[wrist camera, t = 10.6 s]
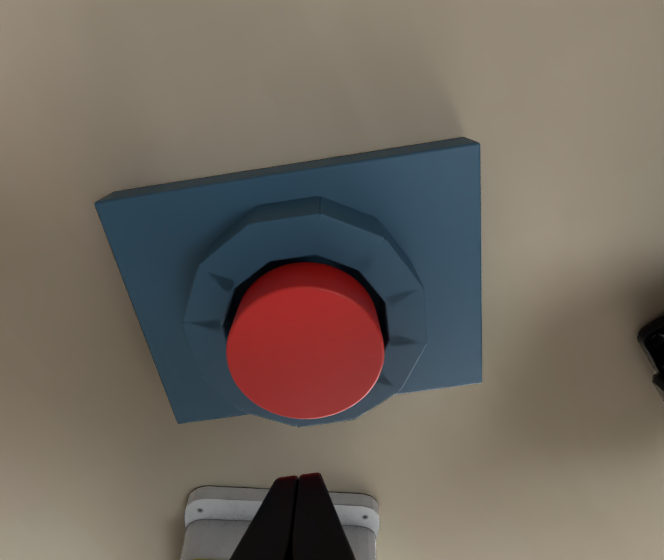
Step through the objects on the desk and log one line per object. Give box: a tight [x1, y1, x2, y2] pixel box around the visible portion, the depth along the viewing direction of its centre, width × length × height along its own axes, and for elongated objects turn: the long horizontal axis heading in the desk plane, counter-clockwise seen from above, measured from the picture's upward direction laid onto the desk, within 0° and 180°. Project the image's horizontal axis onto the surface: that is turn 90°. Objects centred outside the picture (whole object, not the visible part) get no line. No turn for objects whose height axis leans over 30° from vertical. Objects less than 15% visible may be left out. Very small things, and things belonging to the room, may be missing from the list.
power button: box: [226, 262, 385, 419], centre depth 13 cm, size 4×4×2 cm
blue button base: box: [95, 137, 482, 427], centre depth 15 cm, size 12×9×4 cm
